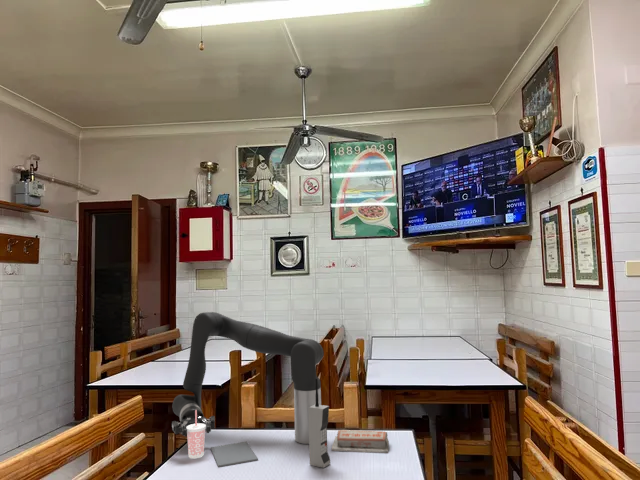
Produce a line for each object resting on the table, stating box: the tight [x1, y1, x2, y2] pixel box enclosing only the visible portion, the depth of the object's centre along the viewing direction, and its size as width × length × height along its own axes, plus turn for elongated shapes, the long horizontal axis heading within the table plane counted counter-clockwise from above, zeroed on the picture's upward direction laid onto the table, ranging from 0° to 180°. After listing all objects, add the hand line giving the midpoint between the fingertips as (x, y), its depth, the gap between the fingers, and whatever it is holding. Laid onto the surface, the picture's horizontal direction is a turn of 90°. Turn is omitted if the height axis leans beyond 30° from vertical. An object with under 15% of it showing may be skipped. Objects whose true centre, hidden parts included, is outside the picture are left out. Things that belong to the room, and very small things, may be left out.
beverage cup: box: [186, 410, 206, 460], centre depth 143 cm, size 6×6×14 cm
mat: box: [210, 441, 259, 468], centre depth 143 cm, size 12×16×1 cm
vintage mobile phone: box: [308, 377, 331, 469], centre depth 134 cm, size 4×5×25 cm
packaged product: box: [331, 429, 390, 454], centre depth 147 cm, size 18×5×10 cm
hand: (197, 431), depth 141 cm, fingers closed on beverage cup, 6 cm apart
